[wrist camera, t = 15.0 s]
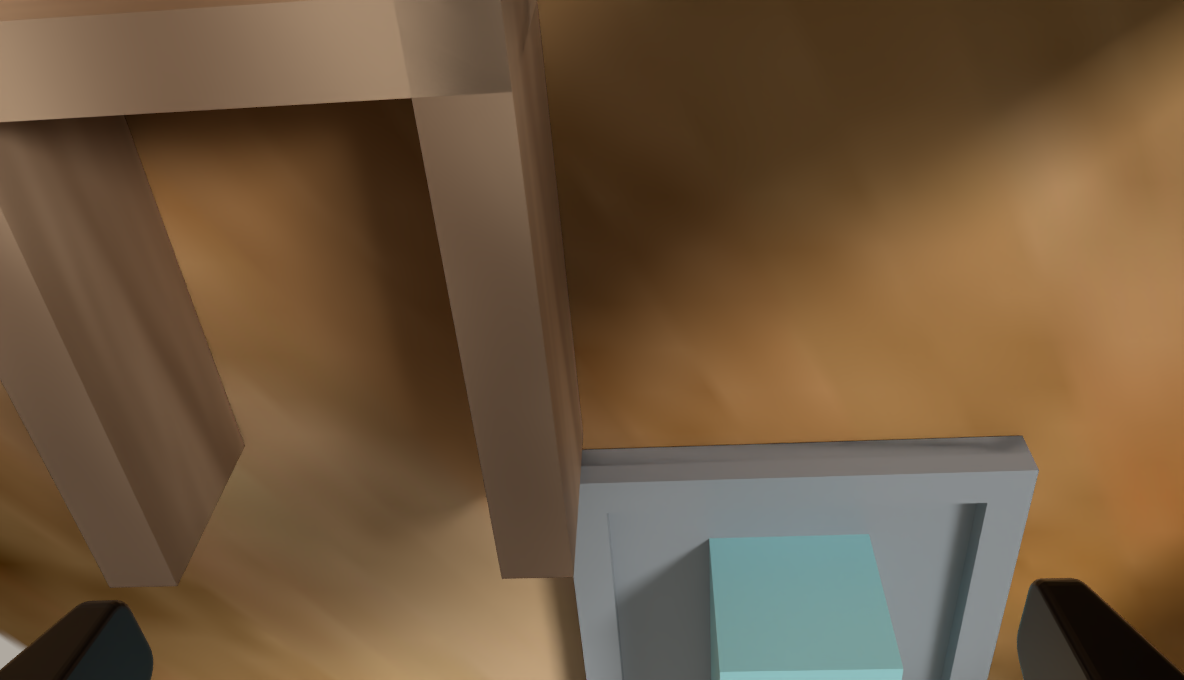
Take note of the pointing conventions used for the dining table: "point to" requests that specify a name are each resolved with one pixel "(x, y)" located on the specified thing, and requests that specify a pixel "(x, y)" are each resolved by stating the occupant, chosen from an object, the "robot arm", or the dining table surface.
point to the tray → (799, 508)
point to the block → (799, 610)
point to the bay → (157, 288)
